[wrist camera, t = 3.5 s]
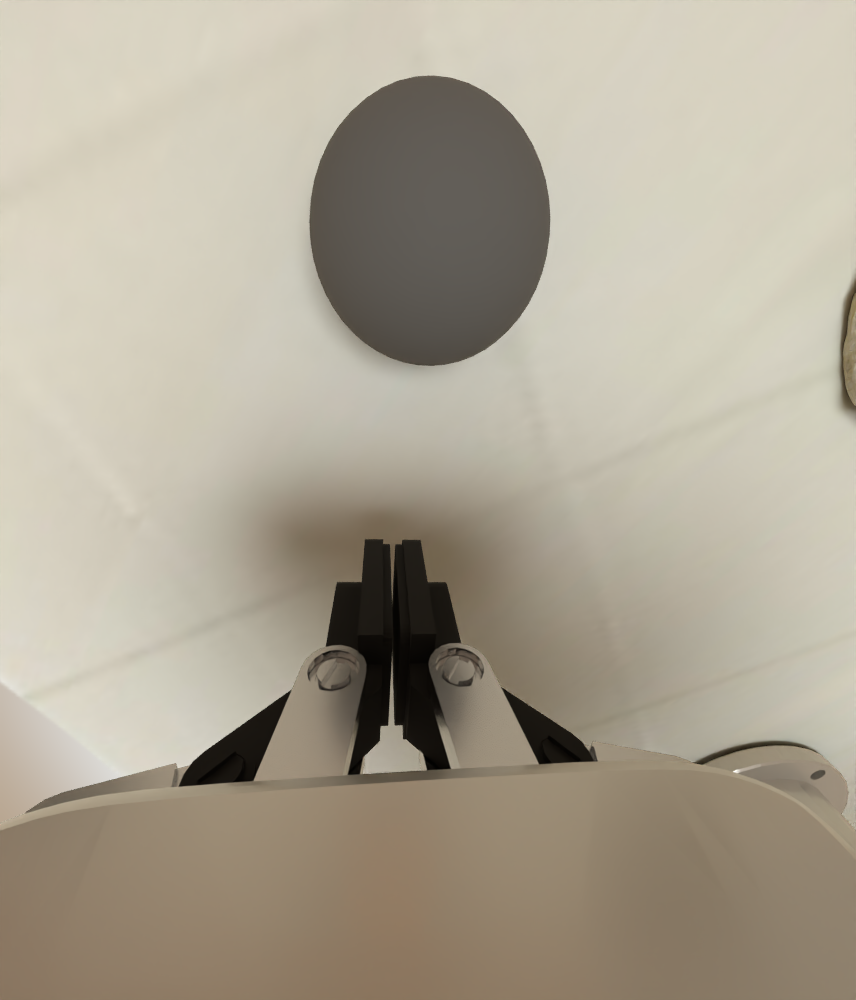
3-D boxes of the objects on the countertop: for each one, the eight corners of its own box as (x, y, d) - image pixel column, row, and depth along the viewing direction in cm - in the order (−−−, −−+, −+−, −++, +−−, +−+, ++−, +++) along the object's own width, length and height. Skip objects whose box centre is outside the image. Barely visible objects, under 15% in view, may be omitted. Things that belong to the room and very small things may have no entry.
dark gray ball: (453, 388, 14) (489, 425, 9) (299, 298, 12) (234, 280, 7) (546, 221, 12) (660, 146, 7) (380, 94, 10) (371, -119, 5)
